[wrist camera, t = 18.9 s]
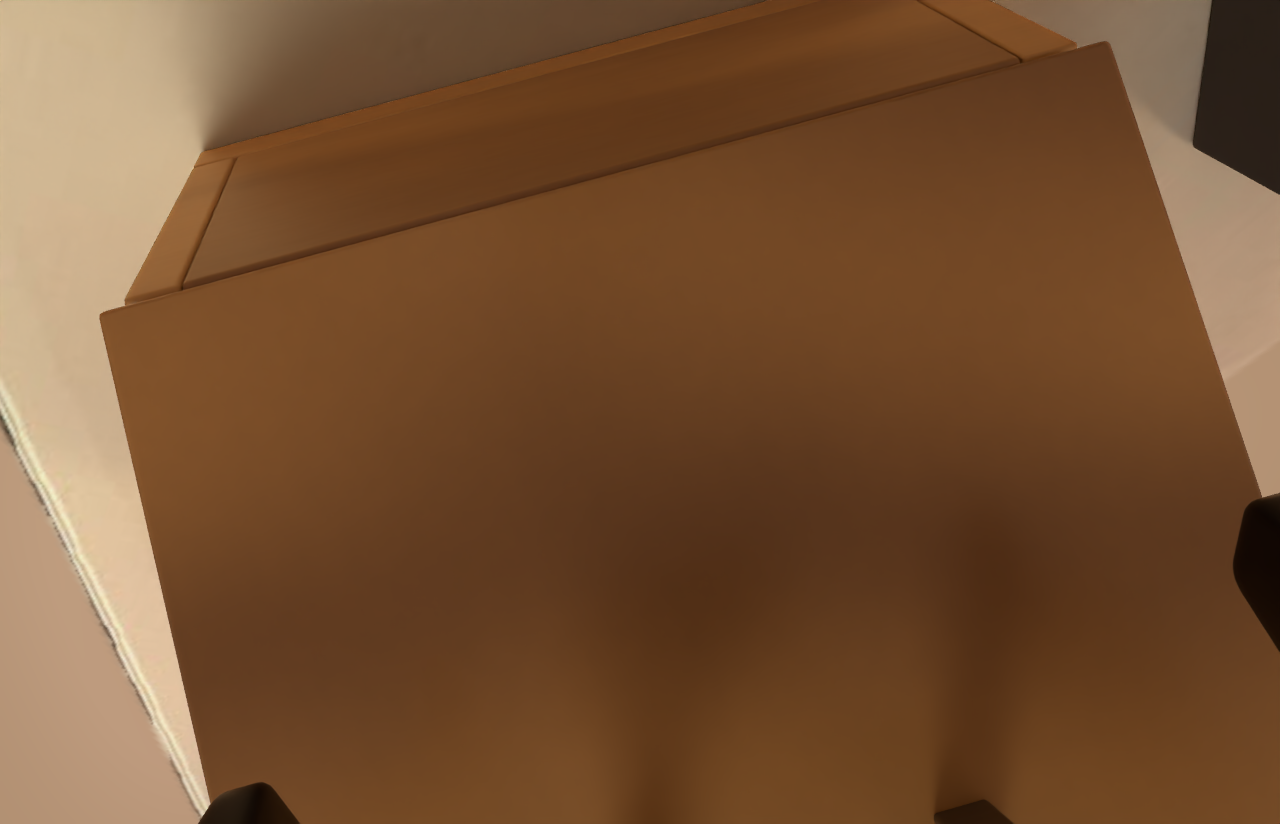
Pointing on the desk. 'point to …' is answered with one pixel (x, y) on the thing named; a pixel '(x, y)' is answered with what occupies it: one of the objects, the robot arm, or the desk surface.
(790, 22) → the wooden box
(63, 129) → the desk surface
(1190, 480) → the lid
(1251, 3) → the matte charcoal cube
